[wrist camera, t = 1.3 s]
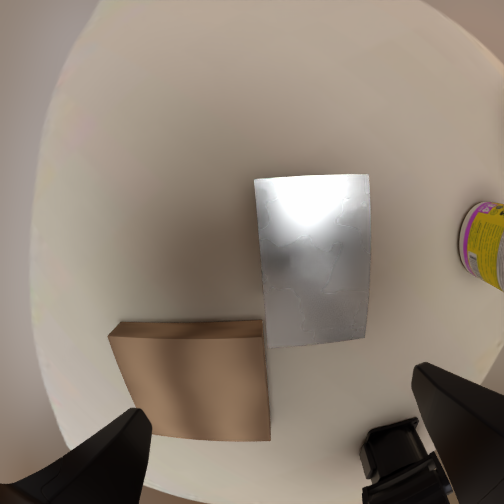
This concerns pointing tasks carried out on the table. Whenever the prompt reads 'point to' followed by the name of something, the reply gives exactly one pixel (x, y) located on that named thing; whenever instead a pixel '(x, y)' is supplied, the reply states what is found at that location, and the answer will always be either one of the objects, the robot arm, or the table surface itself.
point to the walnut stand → (197, 377)
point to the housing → (314, 257)
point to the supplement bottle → (484, 243)
